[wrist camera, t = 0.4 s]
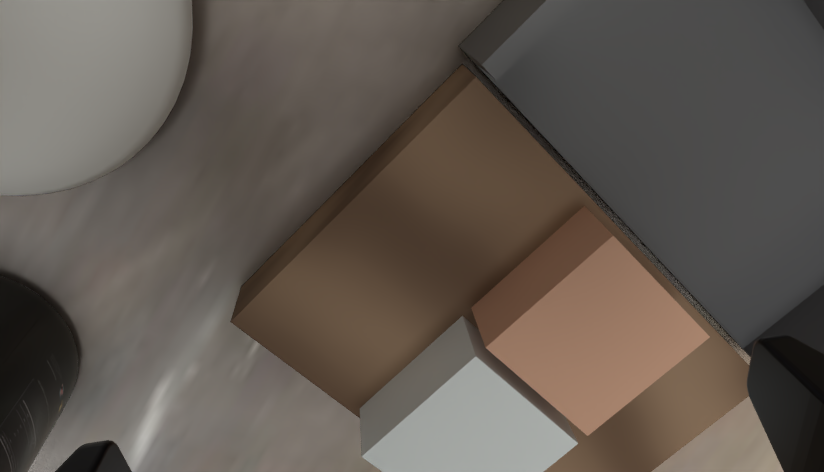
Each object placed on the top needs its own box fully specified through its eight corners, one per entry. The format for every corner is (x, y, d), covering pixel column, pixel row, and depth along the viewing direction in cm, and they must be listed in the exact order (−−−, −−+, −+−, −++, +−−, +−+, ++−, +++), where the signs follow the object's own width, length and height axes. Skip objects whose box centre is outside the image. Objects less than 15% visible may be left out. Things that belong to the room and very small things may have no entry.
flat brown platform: (527, 508, 30) (543, 554, 27) (240, 287, 24) (230, 321, 22) (730, 347, 27) (765, 383, 25) (462, 63, 22) (476, 76, 20)
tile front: (564, 390, 24) (587, 436, 22) (471, 307, 23) (485, 347, 20) (674, 299, 23) (710, 337, 21) (584, 205, 22) (613, 235, 19)
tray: (743, 349, 28) (804, 410, 24) (458, 46, 22) (481, 64, 18) (944, 189, 26) (1045, 229, 22) (689, -190, 20) (768, -222, 16)
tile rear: (456, 480, 26) (467, 532, 23) (359, 408, 24) (361, 456, 22) (556, 397, 25) (578, 443, 22) (462, 315, 23) (475, 356, 21)
